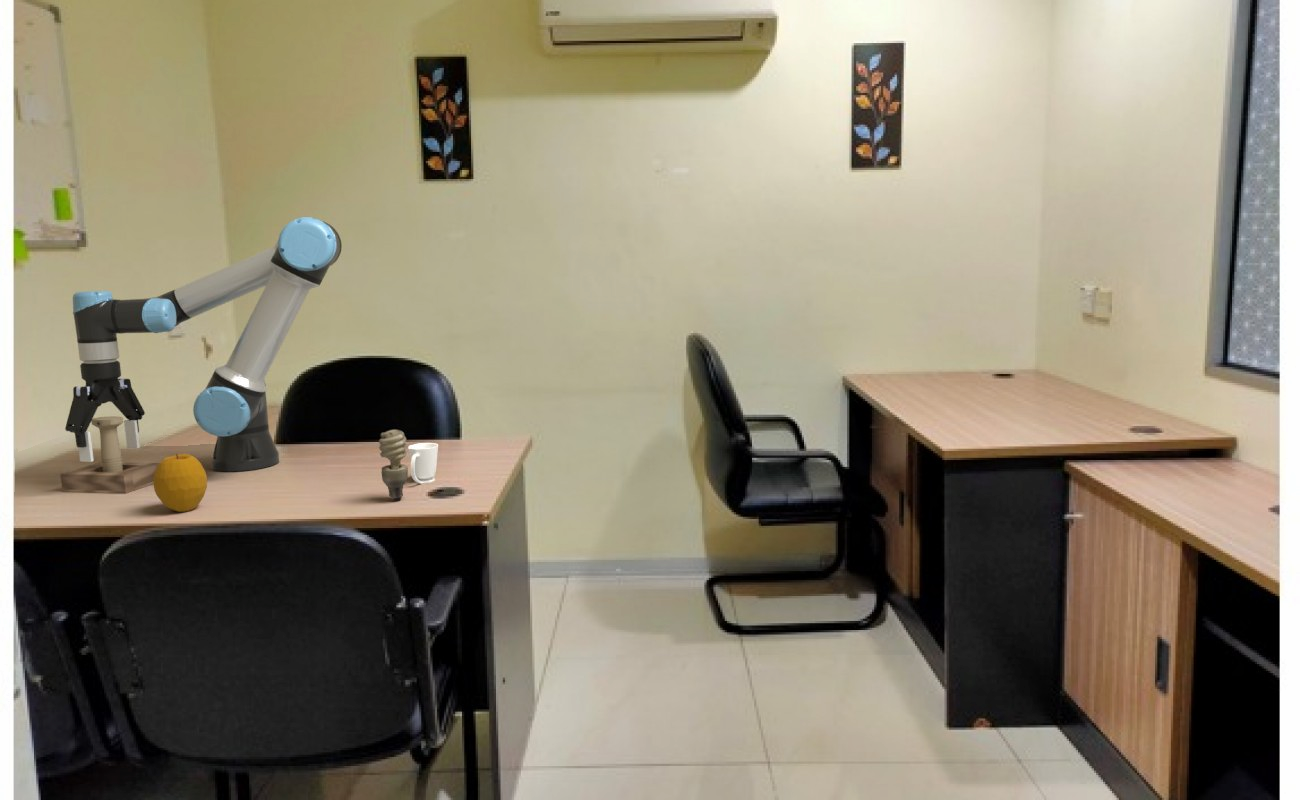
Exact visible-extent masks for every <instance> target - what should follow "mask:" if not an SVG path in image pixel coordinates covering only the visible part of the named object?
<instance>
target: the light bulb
mask: <svg viewBox="0 0 1300 800" xmlns="http://www.w3.org/2000/svg"><path fill="white" fill-rule="evenodd" d="M406 442H407V437H406V436H405V433H404V432H403V431H402V430H400V429H390V430H389V429H388V430H387V431H385V432H381V433H380V438H379V440H378V443H379V447H378V449H379V450H380V451H381V452H380V453H379V456H380V457H381V458H386V459H388V460H389V462H390V464H388V465H384V466H382V467H381V479H382V482H383V483H384V485H385V486H386V487H387V490H388V493H389V494H388V496H389V497H390V498H391V499H394V500H395V501H401V498H403V496H404V493H403V491H404V490H403V489H404V485H405V483H406V482H407V481H408V477H409V475H408V473H409V471H408V470H409V469H408V468H409V467H408V466H407V465H405V464H401V461H402V460H403V459H404V458H405V457H406V456H407V450H406V449H407V444H406Z"/></svg>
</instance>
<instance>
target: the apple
mask: <svg viewBox="0 0 1300 800" xmlns="http://www.w3.org/2000/svg"><path fill="white" fill-rule="evenodd" d="M158 463H159V465H158V466H157V468H156V471H155V474H154V480H153V484H152V485H153V488H154V492H155V494H156V496H157V498H158V499H159V500H160V501H161V503H162V504H163V505H164V506H165V507H167V508H168V509H169V510H171V511H175V512H178V513H185V512H190V511H192V510H195V509H196V508H197V507H198V506H199V504H200V503H201V501H202V500H203V498H204V496H205V494H206V491H207V488H208V487H207V486H208V477H207V473H206V470H205V468H204V467H203V465H202V463H201V462H200V460H198V459H197V458H196V457H195V456H193V455H191V454H188V453H179V454H178V453H176V454H175V455H171V456H167V457H165V458H163V459H162V460H161V461H160V462H158Z"/></svg>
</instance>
